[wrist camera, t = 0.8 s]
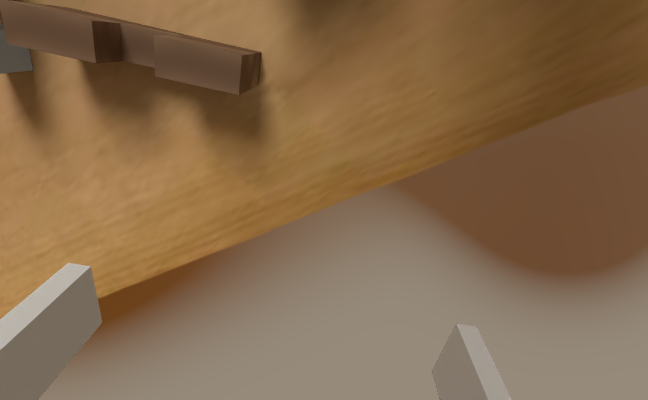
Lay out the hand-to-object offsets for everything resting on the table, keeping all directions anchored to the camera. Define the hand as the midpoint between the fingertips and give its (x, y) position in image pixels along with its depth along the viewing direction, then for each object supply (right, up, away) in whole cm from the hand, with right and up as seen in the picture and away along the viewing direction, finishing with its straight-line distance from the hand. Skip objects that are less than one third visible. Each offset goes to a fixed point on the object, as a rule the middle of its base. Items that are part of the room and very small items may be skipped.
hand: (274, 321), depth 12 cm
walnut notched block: (-13, +19, +19) cm, 30 cm away
